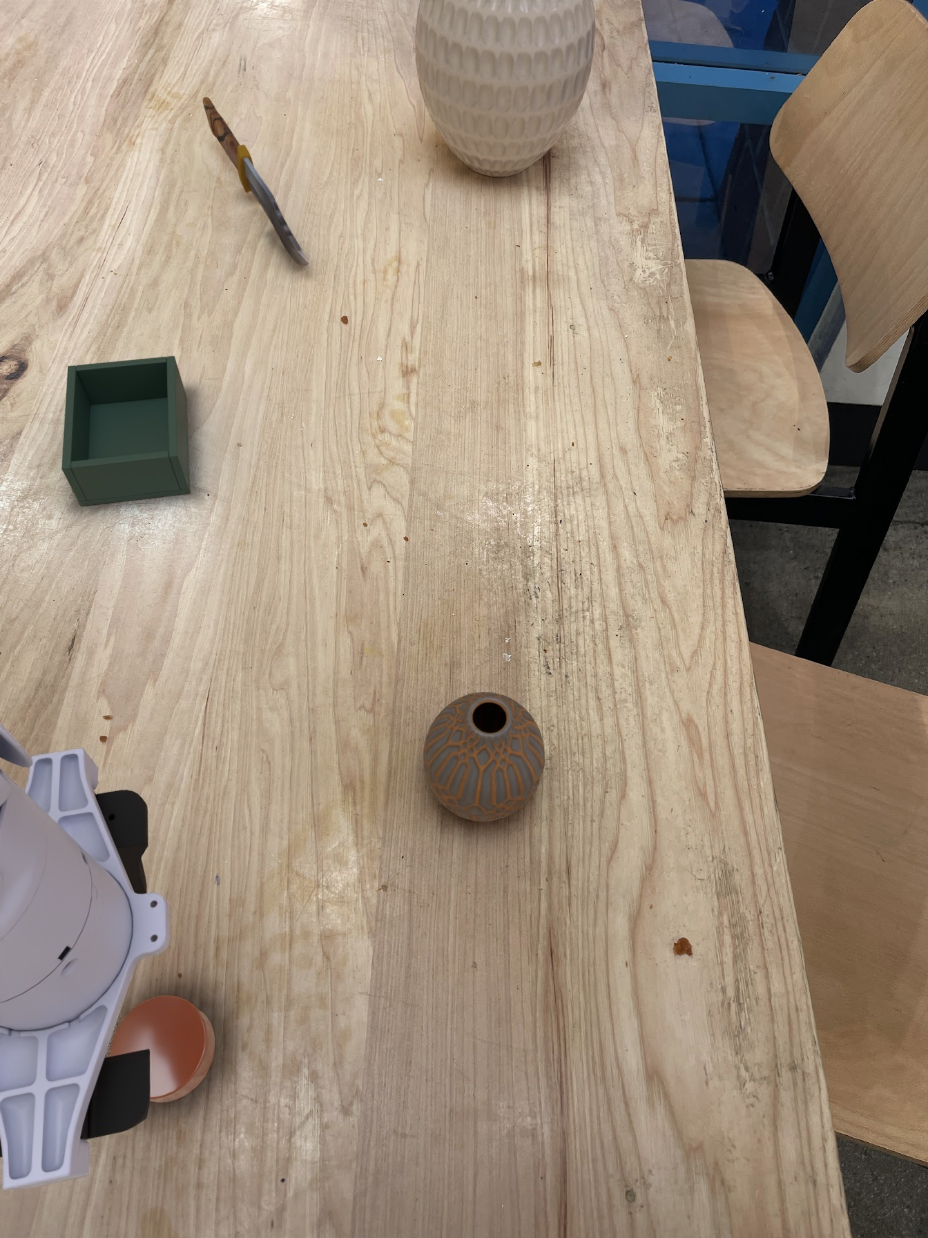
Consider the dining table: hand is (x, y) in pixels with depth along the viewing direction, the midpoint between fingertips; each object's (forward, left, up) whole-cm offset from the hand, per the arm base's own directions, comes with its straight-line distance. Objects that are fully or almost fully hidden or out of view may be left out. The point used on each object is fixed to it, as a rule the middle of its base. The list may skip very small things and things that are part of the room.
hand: (123, 989), depth 38 cm
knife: (+9, +69, -9) cm, 70 cm away
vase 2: (+18, +10, -9) cm, 23 cm away
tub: (-2, +40, -8) cm, 41 cm away
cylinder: (0, -2, -8) cm, 9 cm away
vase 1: (+33, +75, -9) cm, 83 cm away
